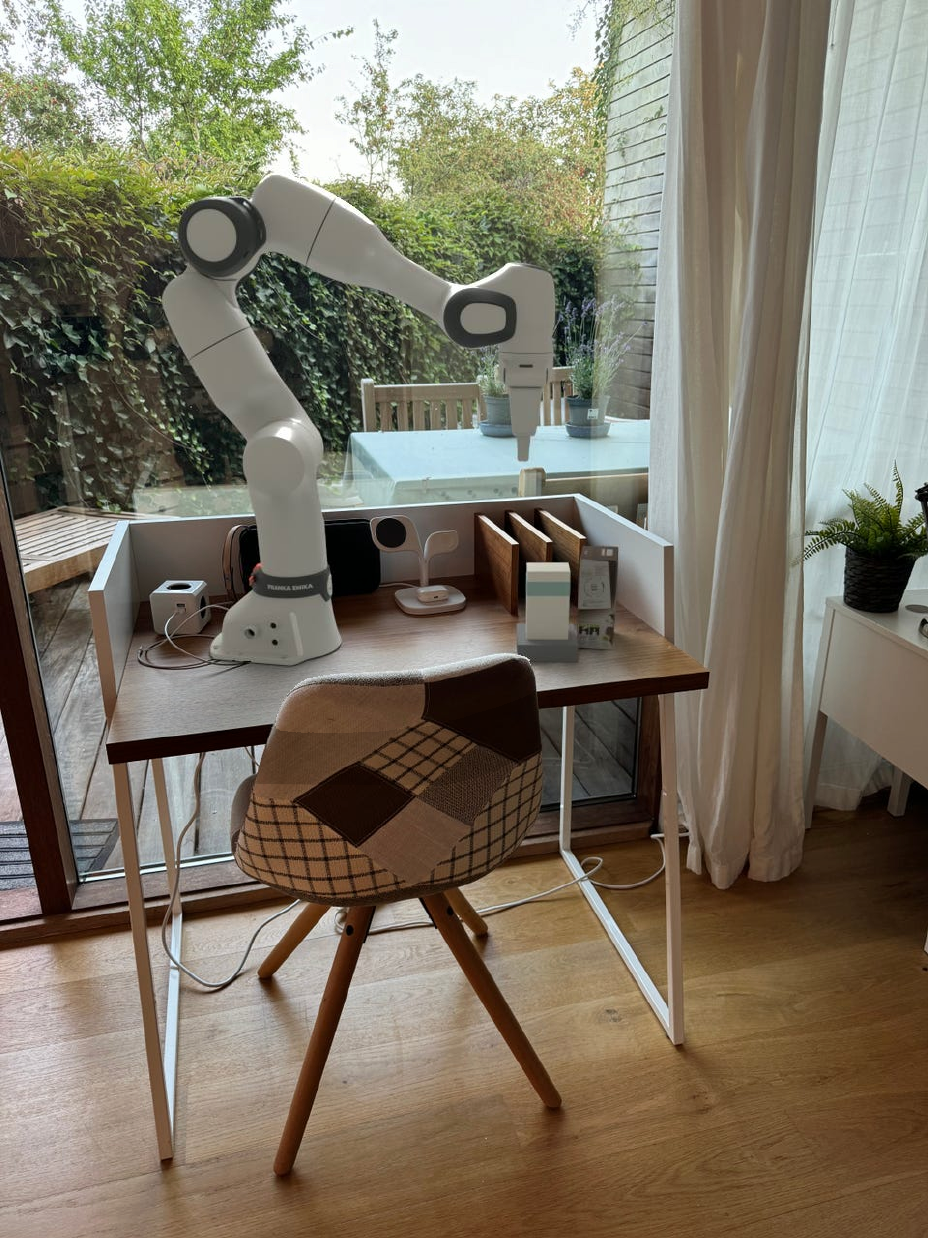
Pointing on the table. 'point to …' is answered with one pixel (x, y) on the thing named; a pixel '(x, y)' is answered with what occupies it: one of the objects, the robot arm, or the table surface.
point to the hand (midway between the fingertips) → (522, 455)
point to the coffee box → (597, 597)
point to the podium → (547, 647)
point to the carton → (547, 601)
